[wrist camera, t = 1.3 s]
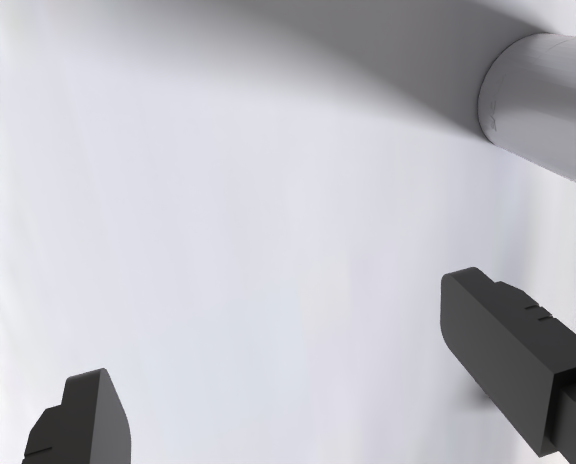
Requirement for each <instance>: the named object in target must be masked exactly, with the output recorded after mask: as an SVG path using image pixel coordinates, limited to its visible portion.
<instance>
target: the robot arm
mask: <svg viewBox="0 0 576 464" xmlns="http://www.w3.org/2000/svg"><path fill="white" fill-rule="evenodd" d="M478 116H479V123H480V125H481V128H482V130H483V132H484V134H485V135H486V137H487V138H488V139H489V140H490V141H491V142H492V143H494V144H495V145H496V146H498V147H501V148H503V149H505V150H507V151H509V152H511V153H514V154H516V155H518V156H520V157H522V158H524V159H526V160H528V161H530V162H532V163H535V164H537V165H539V166H541V167H543V168H545V169H548V170H550V171H552V172H554V173H556V174H558V175H561V176H563V177H565V178H567V179H569V180H571V181H574V182H576V37H573V36H565V35H556V34H548V33H544V34H534V35H530V36H527V37H524V38H522V39H520V40H519V41H517V42H515V43H513V44H512V45H511V46H510V47H508V48H507V49H506V50H505V51H503V52H502V54H501V55H500V56H499V57H498V58H497V59H496V60H495V62H494V63H493V65H492V66H491V68H490V69H489V71H488V73H487V74H486V77H485V79H484V81H483V84H482V86H481V90H480V94H479V99H478ZM440 326H441V332H442V335H443V338H444V340H445V343H446V344H447V346H448V348H449V349H450V350H451V352H452V353H453V354H454V355H455V356H456V358H457V359H458V360H459V361H460V362H461V364H462V365H463V366H464V367H465V369H466V370H467V371H468V372H469V373H470V375H471V376H472V377H473V378H474V379H475V381H476V382H477V383H478V384H479V385H480V387H481V388H482V389H483V390H484V391H485V393H486V394H487V395H488V396H489V398H490V399H491V400H492V401H493V402H494V404H495V405H496V406H497V407H498V408H499V410H500V411H501V412H502V413H503V414H504V416H505V417H506V418H507V419H508V420H509V422H510V423H511V424H512V425H513V426H514V428H515V429H516V430H517V431H518V433H519V434H520V435H521V436H522V437H523V439H524V440H525V441H526V442H527V443H528V445H529V446H530V447H531V448H532V449H533V451H534V452H535V453H536V454H537V455H538V457H539V458H540V457H543V456H546V455H549V454H552V453H554V452H557V451H559V452H560V453H561V454H562V455H563V456H564V457H565V458H566V460H567V461H568V462H569V463H570V464H576V334H575V333H574V332H573V331H571V330H570V329H569V328H568V327H566V326H565V325H564V324H563V323H562V322H560V321H559V320H558V319H557V318H553V317H552V314H551V313H549V312H548V311H547V310H546V309H544V308H543V307H540V306H539V304H538V303H537V302H536V301H535V300H533V299H532V298H531V297H530V296H528V295H527V294H526V293H525V292H524V291H522V290H520V289H518V288H515V287H513V286H511V285H508V284H506V283H504V282H502V281H499V282H496V283H494V282H493V281H492V280H491V279H490V278H489V277H488V276H486V275H485V274H484V273H483V272H482V271H481V270H479V269H478V268H476V267H470V268H467V269H463V270H459V271H456V272H452V273H448V274H445V275H444V276H443V277H442V280H441V314H440ZM24 456H25V459H23V461H22V464H131V435H130V428H129V424H128V420H127V417H126V414H125V412H124V409H123V407H122V404H121V402H120V400H119V397H118V395H117V392H116V390H115V388H114V385H113V383H112V381H111V378H110V376H109V374H108V372H107V370H106V369H105V368H101V369H97V370H94V371H90V372H86V373H83V374H79V375H75V376H71V377H69V378H67V380H66V383H65V388H64V393H63V398H62V403H61V405H58V406H55V407H51V408H47V409H45V411H44V412H43V414H42V415H41V417H40V418H39V419H38V421H37V422H36V424H35V425H34V427H33V428H32V430H31V431H30V434H29V438H28V442H27V445H26V449H25V453H24Z"/></svg>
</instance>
